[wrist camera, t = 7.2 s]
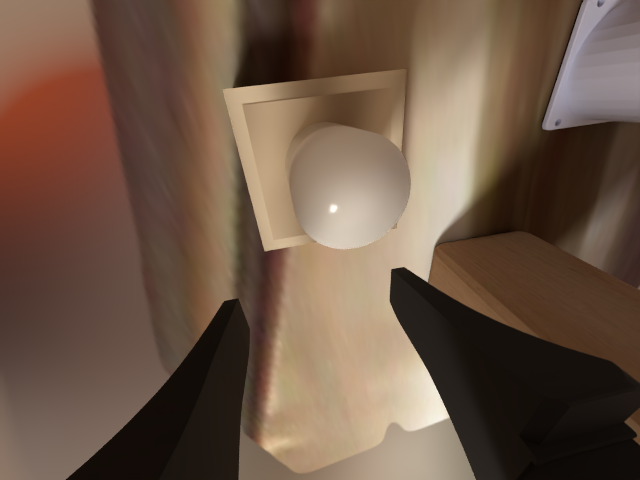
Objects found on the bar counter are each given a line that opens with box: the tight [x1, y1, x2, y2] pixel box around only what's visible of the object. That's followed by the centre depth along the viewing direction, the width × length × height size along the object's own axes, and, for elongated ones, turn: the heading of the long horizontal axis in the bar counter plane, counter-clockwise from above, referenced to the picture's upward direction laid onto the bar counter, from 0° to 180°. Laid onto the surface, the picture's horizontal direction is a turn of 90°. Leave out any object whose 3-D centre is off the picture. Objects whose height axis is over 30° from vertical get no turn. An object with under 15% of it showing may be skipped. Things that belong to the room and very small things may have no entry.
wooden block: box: [428, 231, 640, 445], centre depth 18 cm, size 10×10×20 cm
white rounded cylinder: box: [285, 122, 411, 249], centre depth 13 cm, size 5×5×6 cm
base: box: [223, 69, 407, 251], centre depth 17 cm, size 10×10×3 cm
